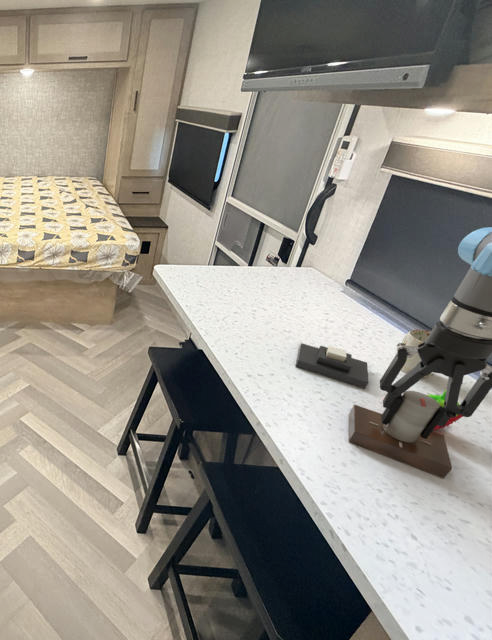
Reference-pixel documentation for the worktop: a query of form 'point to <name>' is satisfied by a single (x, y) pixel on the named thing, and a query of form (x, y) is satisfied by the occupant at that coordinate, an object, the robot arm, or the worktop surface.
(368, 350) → the worktop surface
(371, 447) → the volume box
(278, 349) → the worktop surface
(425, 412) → the volume knob
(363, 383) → the ridged dark grey block
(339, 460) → the worktop surface
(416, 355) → the mug
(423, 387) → the worktop surface
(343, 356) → the cream square block
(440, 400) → the strawberry
